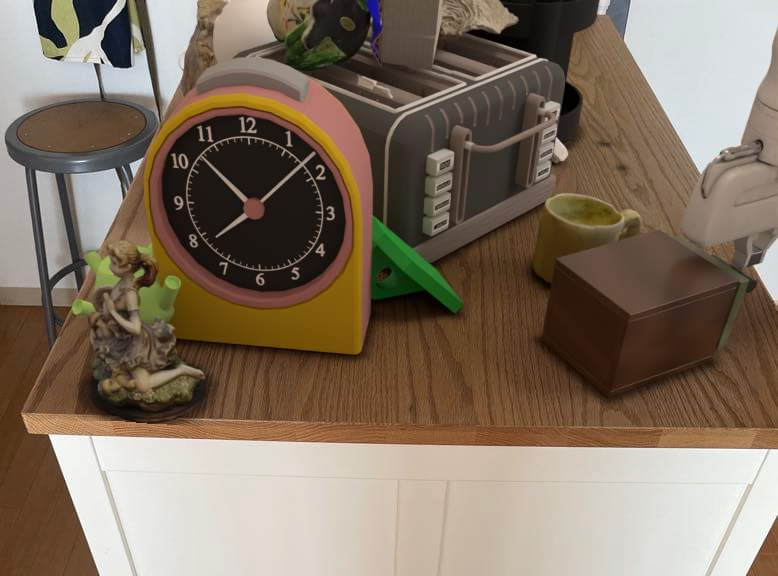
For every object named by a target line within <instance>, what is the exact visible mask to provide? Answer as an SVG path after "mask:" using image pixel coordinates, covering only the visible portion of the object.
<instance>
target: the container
mask: <svg viewBox="0 0 778 576" xmlns="http://www.w3.org/2000/svg"><path fill="white" fill-rule="evenodd" d="M499 1H500V2H501V3H502V4H503V6H504V7H505V8H508V12H509V13H511V14H513V15H514V16H516V17H518V18H519V21H518V22H517V23H516V24H514V25H511V26H508V27H506V28H505V29H503V30H502V31H501V33H500V34H495V33H491V32H488V31H486V30H483V29H476V30H470V31H468V32H465V33H466V34H470V35H473V36H476V37H479V38H482V39H486V40H489V41H492V42H495V43H498V44H501V45H505V46H508V47H511V48H514V49H517V50H521V51H524V52H527V53H530V54H533V55H536V57H538V58H542V59H547V60H548V61H550V62H553V63H556V64H558V65H559V66H560V67H561V68H562V70H563V72H564V76H565V88H564V94H563V100H562V106H561V112H560V118H559V124H558V130H557V136H556V137H557V139H558V140H559V141H560V142H561V143H562V144H563V143H564V142H566V141H568V140H570V139H571V138H573V137H574V136H575V135H576V133H577V132H578V130H579V126H580V119H581V114H582V108H583V102H584V98H583V97H584V96H583V94H582V92H581V91H580V90H579V88H578V87H576V86H575V85H574V84H573V83H571V82H568V81H567V78H568V73H569V66H570V60H571V55H572V54H571V53H572V48H573V41H574V35H575V34H576V33H579V32H582V31H585V30H587V29H588V28H591V26H593V25H594V24H595V23H596V21H597V16H598V13H599V12H598V11H599V7H600V1H601V0H499Z"/></svg>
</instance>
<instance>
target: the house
mask: <svg viewBox="0 0 778 576" xmlns="http://www.w3.org/2000/svg"><path fill="white" fill-rule="evenodd" d="M366 6H367V8H368V9H369V11H370V13H371V15H372V30H373V35H372V39H371V44H370V48H371V50H372V52H373V54H374V55H375V57H376V59H377V61H378V62H379V64H380V66H381V65H382V62H384V63H391V64H397V65H404V66H410V67H417V68H423V69H430V70H432V66H433V61H434V56H435V51H436V46H437V41H438V36H439V31H440V26H441V21H442V16H443V11H444V6H445V0H367V1H366ZM381 21H382V25H381V24H380V22H381ZM379 35H380V36H379Z"/></svg>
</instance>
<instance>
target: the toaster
mask: <svg viewBox="0 0 778 576" xmlns="http://www.w3.org/2000/svg"><path fill="white" fill-rule="evenodd" d="M371 31H372V18H371V22H370V27H369V31H368V35H367V38H366V40H365V42H364V44H363V45H362V47H361V48H360V49H359V51H358V52H357V53H356V54H355V55H354V56H353V57H352V58H350V59H348V60H347V61H345V62H342V63H334V64H333V65H330V66H328V67H326V68H322V69H318V70H315V71H300V70H297V71H299V72H301V73H303V74H304V75H306V76H307V77H308V78H310V79H312V80H314V81H315V82H317V83H319V84H320V85H321V86H322V87H324V88H325V89H326V90H327V91H328V92H329V93H330V94H332V95H333V96H334V97H335V98H336V99H337V100H338V101H340V102H341V103H342V105H343V106H344V107H345V109H346V110H347V112H348V113H349V115H350V116H351V117H352V119H353V120H354V122H355V123H356V125H357V126H358V127H359V129H360V132H361V135H362V137H363V140H364V143H365V145H366V148H367V150H368V153H369V156H370V164H371V172H372V181H373V209H372V215H373V216H374V217H376V218H377V219H378V220H379V221H380V222H381V223H383V224H384V225H385V226H386V227H387V228H388V229H390V230H391V231H392V232H393V233H394V234H395V235H397V236H398V237H399V238H400V239H401V240H402V241H404V242H405V243H406V244H407V245H408V246H409V247H411V248H412V249H413V250H414V251H415V252H417V253H418V254H419V255H420V256H421V257H422V258H424V259H425V260H426V261H427V262H428V263H429V264H433V263H434V262H436V261H438V260H440V259H441V258H443V257H445V256H448V255H449V254H450V253H453V252H454V251H456V250H459V249H460V248H462V247H464V246H465V245H467V244H470V243H471V242H473V241H475V240H477V239H478V238H480V237H482V236H484V235H486V234H488V233H489V232H492V231H493V230H496V229H497V228H499V227H500V226H503V225H504V224H507V223H508V222H510V221H512V220H514V219H515V218H517V217H519V216H521V215H523V214H524V213H527V212H528V211H531V210H532V209H534V208H536V207H538V206H540V205H541V204H544V203H545V202H546V200H547V199H548V198H552V196H553V193H554V190H555V188H556V181H557V175H555V174H553V173H552V172H551V171H552V166H553V154H554V148H555V142H556V136H557V130H558V124H559V118H560V112H561V106H562V100H563V94H564V88H565V76H564V72H563V70H562V68H561V67H560V66H559V65H558V64H556V63H553V62H550V61H548V60H547V59H542V58H538V57H536V55H533V54H530V53H527V52H524V51H521V50H517V49H514V48H511V47H508V46H505V45H501V44H498V43H495V42H492V41H489V40H486V39H482V38H479V37H476V36H473V35H470V34H466V33H463V34H462V38H459V39H458V40H454V41H451V40H445V39H440V40H438V41H437V46H436V51H435V56H434V61H433V66H432V70H430V69H423V68H417V67H410V66H404V65H397V64H391V63H384V62H382V65H381V66H380V64H379V62H378V61H377V59H376V57H375V55H374V54H373V52H372V50H371V48H370V44H371ZM285 55H286V47H285V42H284V43H281V42H279V41H278V40H277V41H274V42H271V43H267V44H264V45H261V46H258V47H254V48H251V49H248V50H245V51H241V52H239V53H238V54H237V55H235V56H234V57H233V59H235V58H241V57H259V58H264V59H270V60H274V61H276V62H279V63H282V64H284V58H285ZM357 75H359V76H364V77H365V78H368V79H371V80H374V81H377V83H376V86H377V85H378V86H381V87H383V88H387V89H389V90H390V92H389V93H390V94H391V95H392V96H393V98H392V99H391V98H389V97H388V96H387V94H386V93H385V92H383V91H382V90H380V89H378V88H377V87H376V89H369V88H367V87H364V86H361V85H358V79H359V78H358V76H357ZM325 83H326V84H325ZM328 84H329V85H328ZM330 85H332V86H330ZM333 86H334V87H333ZM336 87H337V88H336ZM339 88H340V89H339ZM341 89H343V90H341ZM344 90H345V91H344ZM347 91H348V92H347ZM350 92H351V93H350ZM352 93H354V94H352ZM355 94H356V95H355ZM358 95H359V96H358ZM361 96H362V97H361ZM363 97H365V98H363ZM366 98H367V99H366ZM369 99H370V100H369ZM371 100H373V101H371ZM377 100H378V101H377ZM374 101H376V102H374ZM377 102H378V103H377ZM380 103H381V104H380ZM382 104H384V105H382ZM385 105H387V106H385ZM388 106H389V107H388ZM387 269H388V270H390V271H392V268H391V267H389V268H387Z"/></svg>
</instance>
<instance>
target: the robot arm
mask: <svg viewBox="0 0 778 576" xmlns="http://www.w3.org/2000/svg"><path fill="white" fill-rule="evenodd" d="M683 213H684V214H683V216H682V219H681V222H680V231H681V233H682V236H683V238H685V239H686V240H688V241H689V242H691V243H692V244H694V245H695V246H697V247H699V248H701V249H709V248H712V247H715V246H718V245H722V244H725V243H730V242H733V246H734V252H733V254H732V258H731V264H732V265H733V266H735V267H736V268H738V269H740V270H743V269H746V268H749V267H752V266H756V265H760V264H762V263H763V262H764V259H765V257H766V254H767V251H768V250H769V249H770V248H771V246H772V245H773V244H774V243H775V242H776V241H777V239H778V26H777V28H776V31H775V33H774V36H773V40H772V44H771V59H770V62H769V67H768V69H767V72H766V74H765V76H764V77H763V79H762V80H761V82H760V84H759V86H758V88H757V90H756V93H755V95H754V99H753V103H752V106H751V109H750V112H749V115H748V118H747V121H746V124H745V128H744V131H743V133H742V136H741V140H740V145H737V146H729V147H726V148H723V149H722V150H721V151H719V154H718V155H717V156H716V157H714V158H713V160H711V161H710V162H708V163H707V165H706V167H705V168H704V169H703V170H702V171H701V174H700V175H699V177H698V179H697V180H696V183H695V186H694V188H693V190H692V192H691V194H690V197H689V199H688V202H687V205H686V208H685V210H684V212H683Z"/></svg>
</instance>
